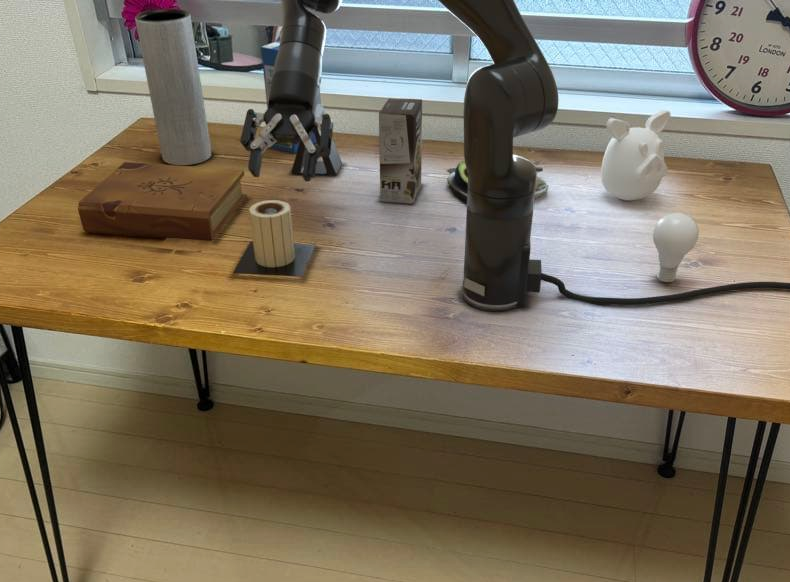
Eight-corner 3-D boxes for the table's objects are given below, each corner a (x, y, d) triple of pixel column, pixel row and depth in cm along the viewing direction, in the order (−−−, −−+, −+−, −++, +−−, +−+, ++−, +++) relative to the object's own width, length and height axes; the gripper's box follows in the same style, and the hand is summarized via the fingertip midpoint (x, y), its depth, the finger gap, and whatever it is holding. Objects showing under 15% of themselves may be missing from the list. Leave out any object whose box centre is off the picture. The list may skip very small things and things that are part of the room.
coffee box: (413, 204, 147) (414, 115, 137) (379, 202, 148) (377, 112, 138) (422, 184, 154) (423, 98, 144) (389, 182, 155) (388, 96, 145)
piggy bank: (636, 217, 142) (652, 132, 132) (583, 197, 149) (594, 115, 139) (677, 198, 148) (694, 115, 139) (624, 179, 155) (637, 99, 146)
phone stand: (342, 164, 162) (339, 104, 155) (336, 176, 158) (332, 114, 150) (298, 162, 164) (293, 102, 156) (291, 174, 159) (285, 112, 152)
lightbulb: (679, 295, 120) (695, 227, 114) (638, 284, 123) (651, 217, 116) (691, 277, 125) (708, 211, 118) (651, 267, 127) (665, 201, 121)
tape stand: (316, 248, 134) (312, 197, 128) (302, 281, 125) (297, 228, 120) (251, 245, 135) (244, 194, 129) (233, 277, 126) (225, 224, 121)
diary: (84, 235, 138) (76, 203, 135) (131, 191, 153) (124, 162, 149) (212, 244, 135) (207, 212, 132) (247, 198, 150) (243, 168, 146)
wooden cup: (298, 250, 132) (293, 200, 126) (290, 268, 127) (284, 217, 122) (261, 248, 132) (255, 199, 127) (251, 266, 127) (244, 216, 122)
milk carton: (294, 153, 168) (285, 51, 155) (271, 147, 170) (260, 46, 158) (323, 138, 174) (316, 39, 162) (300, 133, 177) (292, 35, 165)
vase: (206, 166, 163) (183, 20, 146) (157, 166, 163) (128, 21, 146) (216, 148, 170) (195, 8, 154) (168, 148, 171) (142, 8, 154)
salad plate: (518, 163, 162) (520, 140, 159) (571, 195, 149) (574, 171, 147) (433, 180, 156) (433, 157, 153) (481, 216, 143) (482, 191, 140)
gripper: (246, 65, 127) (229, 164, 125) (333, 70, 124) (318, 170, 122) (261, 90, 134) (245, 183, 132) (344, 95, 132) (329, 190, 130)
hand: (280, 177), depth 127 cm, fingers open, 8 cm apart
